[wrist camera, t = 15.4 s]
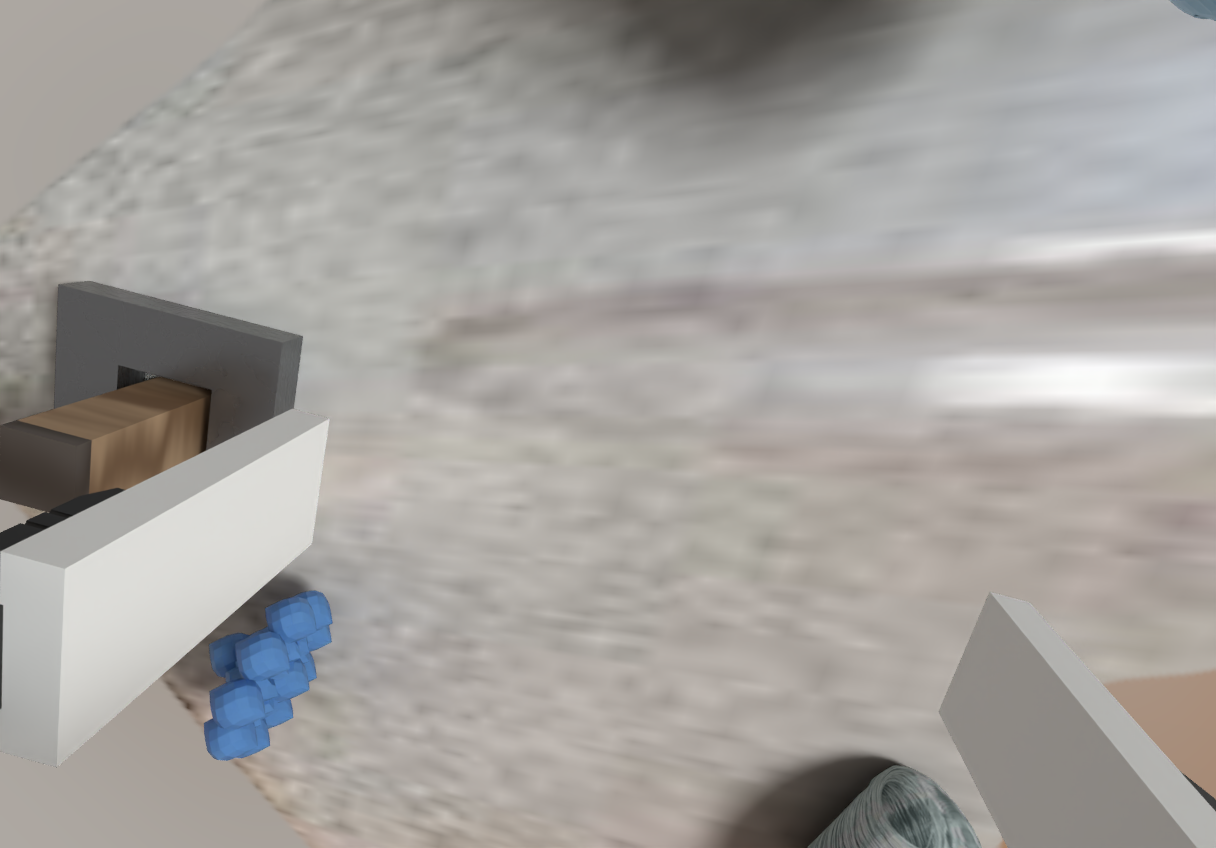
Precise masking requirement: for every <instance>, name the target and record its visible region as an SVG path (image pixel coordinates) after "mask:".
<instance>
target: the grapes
mask: <svg viewBox="0 0 1216 848" xmlns="http://www.w3.org/2000/svg"><path fill="white" fill-rule="evenodd" d="M265 613H266V620H267V625H268V627H266V628H264V629H262V630H259V631H257V632H255V633H253V634H251V635H246V634H242V633H235V634H231V635H227V636H225V637H223V638H221V639H219V640H217V641H215V642H213V643H211V644H209V654H210V660H211V664H212V669H213V671H214V672H215V673H216V674H217V676H218V677H224V678H226V683H225V684H223V685H221V686H219V687H217V688H215V689H213V690H211V691H210V706H211V711H212V716H213V719H211V720H209V721H207V722H205V723H204V735H205V741H206V746H207V751H208V752H209V753H210V755H211V756H212V757H213V758H214V759H217V760H226V761H228V760H231V759H233V758H244V757H247V756H250V755H252V754H254V753H257V752H259V751H261V750H263V749H265V748H266V747H268V746H270V739H269V732H268V729H269V728H272V727H275V726H277V725H280V724H282V723H284V722H286V721H288V720H290V719H291V718H293V709H292V704H291V700H290V699H292V698H294V697H296V696H298V695H300V694H302V693H304V692H306V691H308V690H309V682H310V681H312V680H314V679H315V678H317V677H316V669H315V664H314V660H313V657H312V655H311V653H310V651H314V650H317V649H319V648H321V647H323V646H325V645H327V644H329V643H331V642H332V641H331V633H330V629H329V625H330V624H332V616H331V611H330V606H329V603H328V601H327V599H326V598H325V596H324V595H323V593H321V592H318V591H307V592H302V593H300V594H297V595H295V596H293V597H291V598H287V599H283V600H281V601H279V602H277V603H274V604H272V605H271V606H269V607H267V608H265Z"/></svg>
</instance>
